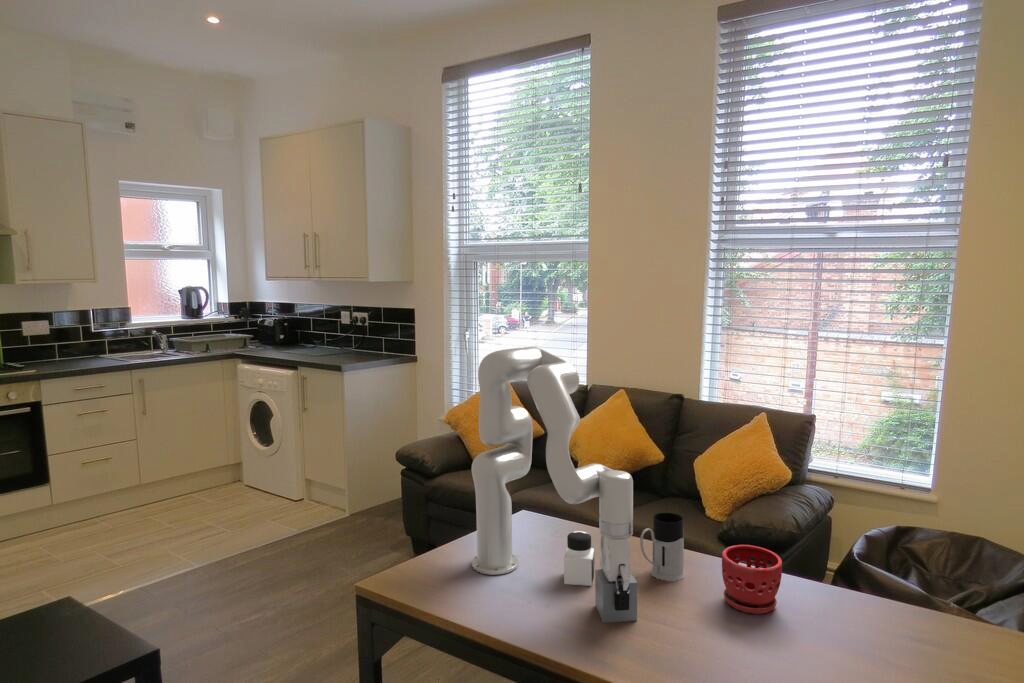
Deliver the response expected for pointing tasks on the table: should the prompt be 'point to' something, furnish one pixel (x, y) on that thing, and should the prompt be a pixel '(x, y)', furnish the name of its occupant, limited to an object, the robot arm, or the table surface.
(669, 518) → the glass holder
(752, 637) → the table surface
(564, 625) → the table surface
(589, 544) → the medicine bottle
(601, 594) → the gray cube
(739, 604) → the plant pot
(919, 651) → the table surface
